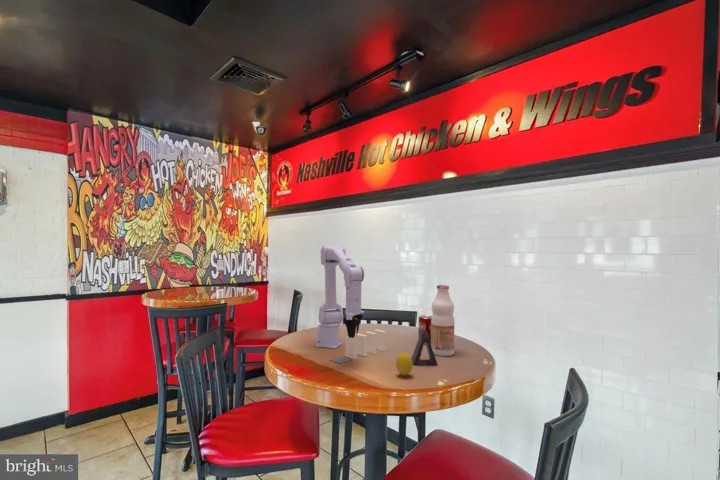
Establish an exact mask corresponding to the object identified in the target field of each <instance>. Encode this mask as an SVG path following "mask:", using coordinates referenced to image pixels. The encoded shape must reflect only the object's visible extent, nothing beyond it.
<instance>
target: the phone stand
mask: <svg viewBox="0 0 720 480" xmlns="http://www.w3.org/2000/svg"><path fill="white" fill-rule="evenodd" d="M424 331H425V332H426V335H425V337H424V336H423V334H425V333H424V332H423V330H422V329H421V330H420V331H419V339H417V342H416V345H415V347H414V351H413V353H412V355H411V356H412V357H411V358H412V363H413V366H420V367H421V366H425V367H426V366H427V367H428V366H431V367H434V366H435V367H436V366H438V365H439V364H438V362H437V359H436V356H435V354H434V353H433V350H432V347H431V344H430V340H429V339H430V335H429V334H428V333H427V331H426V330H425V329H424ZM424 343H426V345H424ZM424 346H426V349H427V350H426V351H427V353H428V358H429V359H421V355H422V352H423V348H424Z"/></svg>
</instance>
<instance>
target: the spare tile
mask: <svg viewBox="0 0 720 480" xmlns="http://www.w3.org/2000/svg"><path fill="white" fill-rule="evenodd" d="M355 319H357V318H355ZM356 340H357V326H356V332H355V337H354V338H350V342H352V343H354V342H355V341H356Z"/></svg>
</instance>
